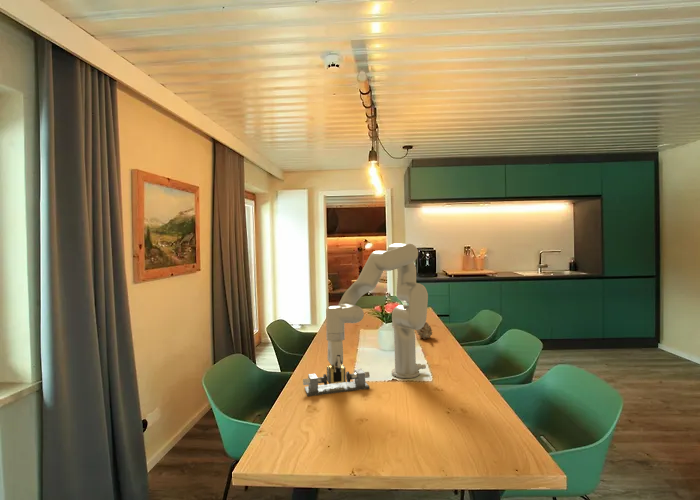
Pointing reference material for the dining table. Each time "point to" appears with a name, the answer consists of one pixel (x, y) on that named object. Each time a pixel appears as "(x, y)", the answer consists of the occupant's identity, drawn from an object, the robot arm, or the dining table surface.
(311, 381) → the shaft stand
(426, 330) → the pine cone
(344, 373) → the two-tone brushed block
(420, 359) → the dining table surface
